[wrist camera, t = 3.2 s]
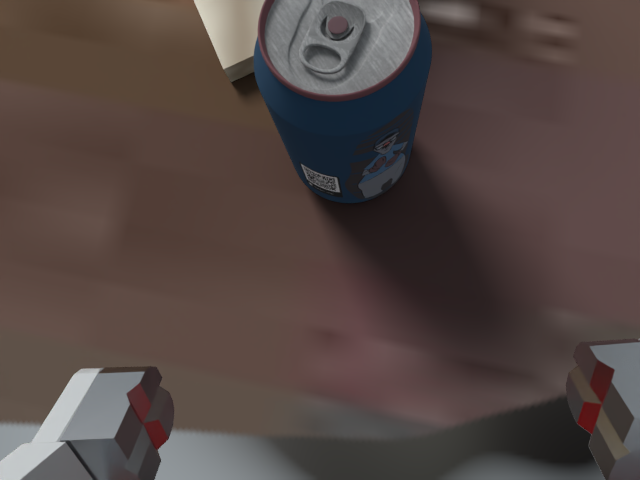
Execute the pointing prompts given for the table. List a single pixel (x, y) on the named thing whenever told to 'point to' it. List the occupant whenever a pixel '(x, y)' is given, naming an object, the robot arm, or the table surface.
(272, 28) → the soda can
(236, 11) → the shelf plank
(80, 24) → the table surface
